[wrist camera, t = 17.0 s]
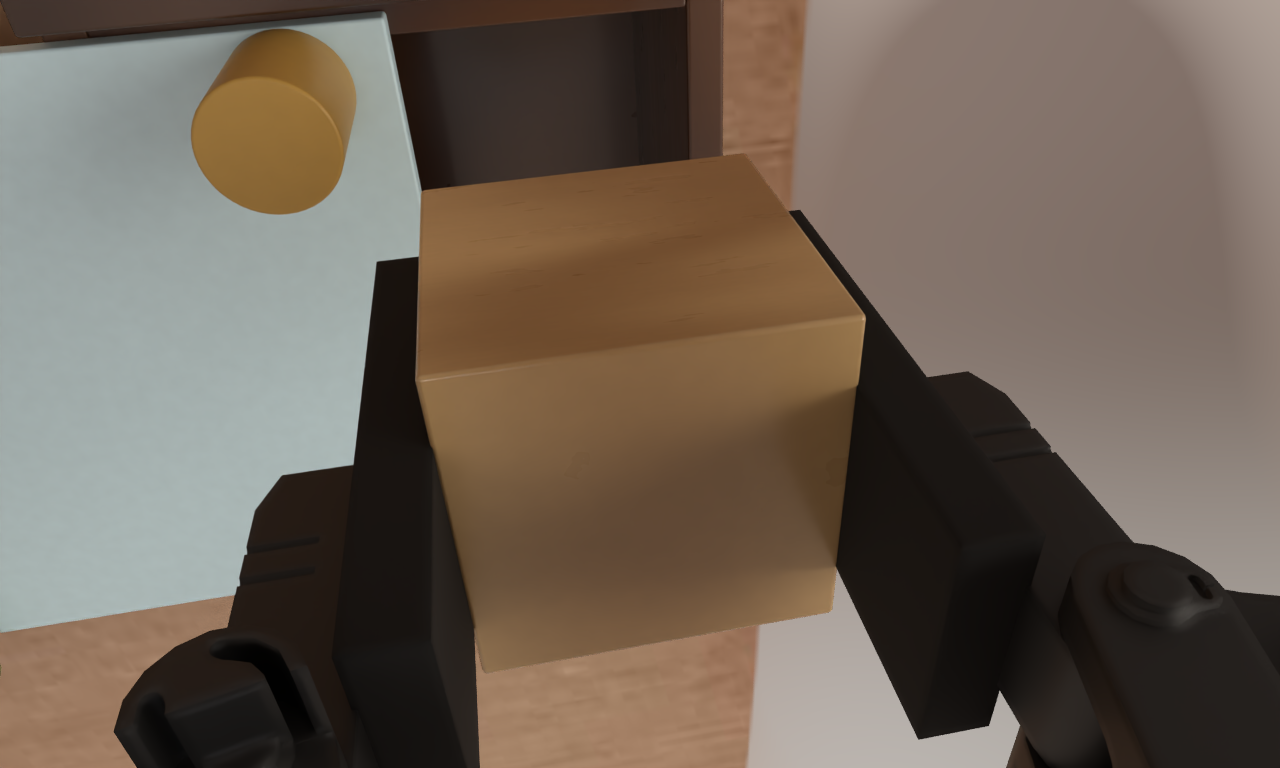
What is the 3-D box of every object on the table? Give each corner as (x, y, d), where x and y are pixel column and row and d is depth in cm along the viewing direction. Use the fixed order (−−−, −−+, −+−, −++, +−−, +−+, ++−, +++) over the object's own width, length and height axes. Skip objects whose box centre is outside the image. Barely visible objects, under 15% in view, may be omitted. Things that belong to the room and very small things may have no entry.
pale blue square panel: (385, 9, 18) (375, 64, 15) (492, 539, 26) (498, 639, 23) (-363, 79, 16) (-537, 155, 13) (7, 616, 25) (-50, 734, 22)
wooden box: (649, -133, 24) (738, -75, 17) (668, 377, 34) (729, 551, 27) (135, -93, 23) (-7, -10, 16) (309, 428, 32) (271, 628, 25)
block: (746, 151, 12) (869, 315, 9) (740, 408, 15) (833, 613, 12) (419, 188, 12) (413, 378, 8) (471, 447, 15) (483, 676, 11)
